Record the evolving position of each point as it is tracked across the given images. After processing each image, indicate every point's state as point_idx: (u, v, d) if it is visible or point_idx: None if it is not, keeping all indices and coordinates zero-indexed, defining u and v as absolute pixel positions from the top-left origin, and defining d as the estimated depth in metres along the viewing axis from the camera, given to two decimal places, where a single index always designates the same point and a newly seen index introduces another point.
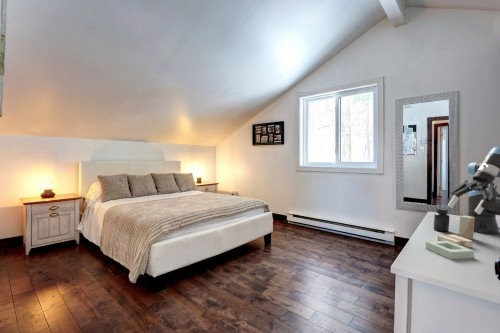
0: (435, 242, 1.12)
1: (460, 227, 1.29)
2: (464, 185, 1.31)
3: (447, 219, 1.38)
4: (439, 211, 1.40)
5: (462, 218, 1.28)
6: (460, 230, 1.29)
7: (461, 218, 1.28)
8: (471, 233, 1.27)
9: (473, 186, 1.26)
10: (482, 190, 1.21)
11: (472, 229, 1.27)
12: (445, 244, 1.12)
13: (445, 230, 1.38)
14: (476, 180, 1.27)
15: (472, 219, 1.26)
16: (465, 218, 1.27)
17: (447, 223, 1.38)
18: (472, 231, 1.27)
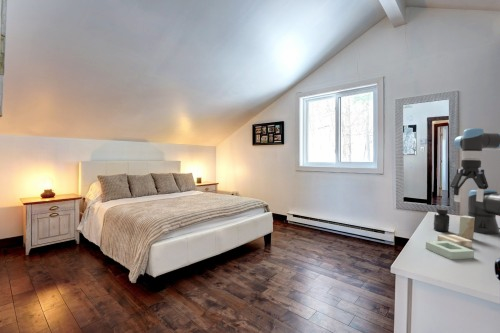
0: (435, 242, 1.12)
1: (460, 227, 1.29)
2: (479, 175, 1.29)
3: (447, 219, 1.38)
4: (439, 211, 1.40)
5: (462, 218, 1.28)
6: (460, 230, 1.29)
7: (461, 218, 1.28)
8: (471, 233, 1.27)
9: None
10: None
11: (472, 229, 1.27)
12: (445, 244, 1.12)
13: (445, 230, 1.38)
14: None
15: (472, 219, 1.26)
16: (465, 218, 1.27)
17: (447, 223, 1.38)
18: (472, 231, 1.27)
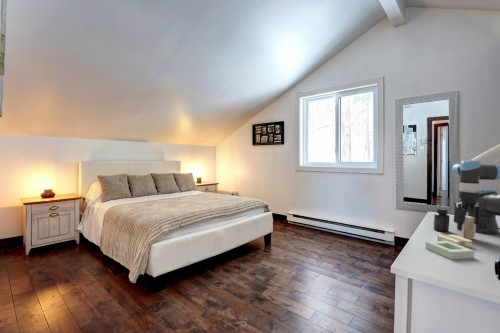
0: (435, 242, 1.12)
1: None
2: None
3: (447, 219, 1.38)
4: (439, 211, 1.40)
5: None
6: None
7: None
8: (471, 233, 1.27)
9: None
10: None
11: (472, 229, 1.27)
12: (445, 244, 1.12)
13: (445, 230, 1.38)
14: None
15: (472, 219, 1.26)
16: (465, 218, 1.27)
17: (447, 223, 1.38)
18: (472, 231, 1.27)
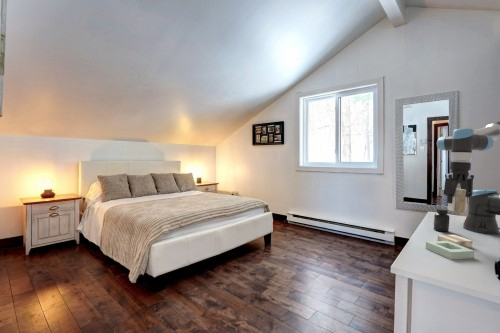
0: (435, 242, 1.12)
1: None
2: (467, 180, 1.21)
3: (447, 219, 1.38)
4: (439, 211, 1.40)
5: None
6: None
7: None
8: (462, 206, 1.18)
9: None
10: None
11: (463, 202, 1.19)
12: (445, 244, 1.12)
13: (445, 230, 1.38)
14: None
15: (463, 191, 1.18)
16: (456, 190, 1.19)
17: (447, 223, 1.38)
18: (463, 204, 1.19)
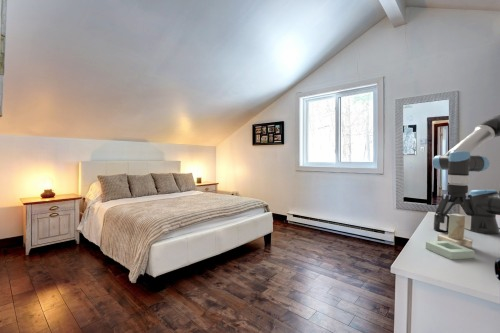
0: (435, 242, 1.12)
1: (449, 226, 1.19)
2: (466, 200, 1.20)
3: (447, 219, 1.38)
4: None
5: (451, 216, 1.19)
6: (449, 229, 1.19)
7: (450, 216, 1.19)
8: (461, 232, 1.17)
9: None
10: None
11: (462, 228, 1.17)
12: (445, 244, 1.12)
13: None
14: None
15: (462, 217, 1.17)
16: (454, 216, 1.18)
17: (447, 223, 1.38)
18: (462, 230, 1.17)
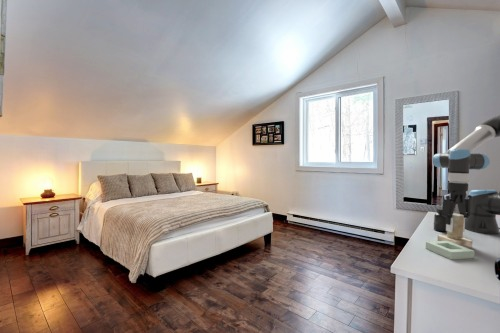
0: (435, 242, 1.12)
1: None
2: None
3: None
4: (439, 211, 1.40)
5: None
6: None
7: None
8: (460, 232, 1.17)
9: None
10: None
11: (461, 228, 1.17)
12: (445, 244, 1.12)
13: (445, 230, 1.38)
14: None
15: (461, 217, 1.17)
16: (453, 216, 1.17)
17: None
18: (461, 229, 1.17)
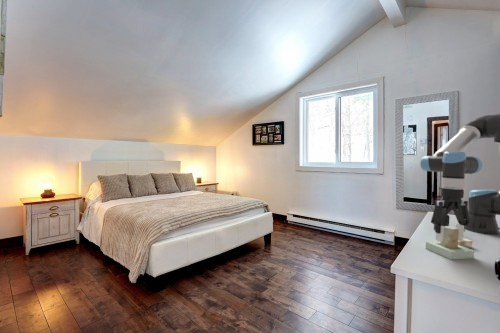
0: (435, 242, 1.12)
1: None
2: (461, 207, 1.09)
3: (447, 219, 1.38)
4: None
5: None
6: (441, 243, 1.09)
7: None
8: (454, 247, 1.06)
9: None
10: None
11: (455, 242, 1.07)
12: None
13: None
14: None
15: (455, 231, 1.06)
16: (447, 229, 1.07)
17: (447, 223, 1.38)
18: (455, 244, 1.06)
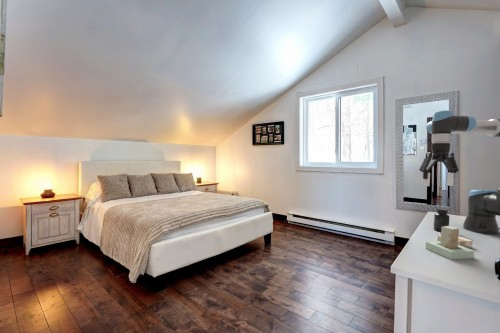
0: (435, 242, 1.12)
1: (441, 240, 1.09)
2: (449, 158, 1.26)
3: (447, 219, 1.38)
4: (439, 211, 1.40)
5: (443, 229, 1.08)
6: (441, 243, 1.09)
7: (442, 229, 1.08)
8: (454, 247, 1.06)
9: None
10: None
11: (455, 242, 1.07)
12: None
13: None
14: None
15: (455, 231, 1.06)
16: (447, 229, 1.07)
17: (447, 223, 1.38)
18: (455, 244, 1.06)
